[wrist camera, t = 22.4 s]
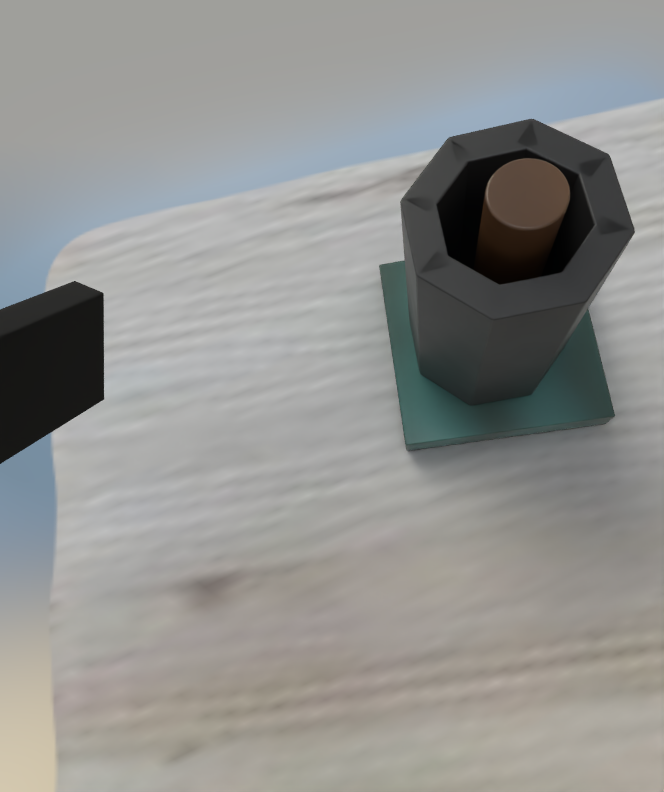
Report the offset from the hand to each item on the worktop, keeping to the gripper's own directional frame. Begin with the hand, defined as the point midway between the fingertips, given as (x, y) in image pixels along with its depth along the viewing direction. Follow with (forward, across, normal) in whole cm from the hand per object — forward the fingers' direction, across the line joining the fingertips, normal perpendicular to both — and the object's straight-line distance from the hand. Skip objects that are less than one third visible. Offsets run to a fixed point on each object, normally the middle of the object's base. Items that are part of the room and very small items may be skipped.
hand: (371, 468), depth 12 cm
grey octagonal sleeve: (+20, 0, -5) cm, 21 cm away
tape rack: (+21, 0, -6) cm, 22 cm away
